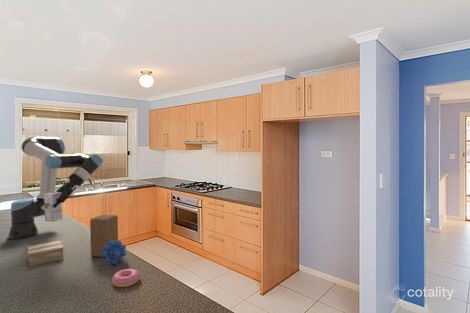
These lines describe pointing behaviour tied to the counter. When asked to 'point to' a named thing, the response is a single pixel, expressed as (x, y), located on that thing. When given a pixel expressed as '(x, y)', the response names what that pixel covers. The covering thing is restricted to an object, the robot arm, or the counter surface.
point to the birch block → (45, 252)
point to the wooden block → (103, 232)
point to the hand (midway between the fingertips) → (45, 210)
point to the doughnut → (125, 278)
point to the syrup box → (57, 212)
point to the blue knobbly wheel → (114, 252)
